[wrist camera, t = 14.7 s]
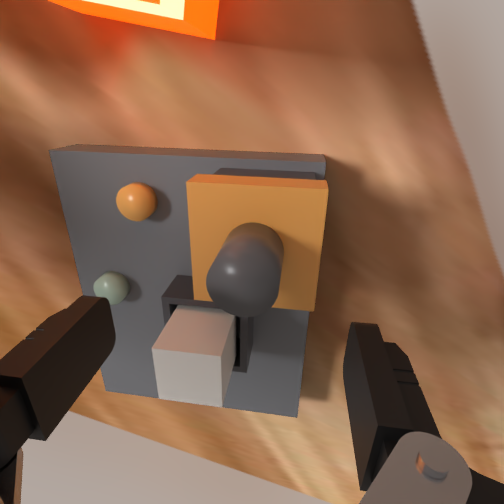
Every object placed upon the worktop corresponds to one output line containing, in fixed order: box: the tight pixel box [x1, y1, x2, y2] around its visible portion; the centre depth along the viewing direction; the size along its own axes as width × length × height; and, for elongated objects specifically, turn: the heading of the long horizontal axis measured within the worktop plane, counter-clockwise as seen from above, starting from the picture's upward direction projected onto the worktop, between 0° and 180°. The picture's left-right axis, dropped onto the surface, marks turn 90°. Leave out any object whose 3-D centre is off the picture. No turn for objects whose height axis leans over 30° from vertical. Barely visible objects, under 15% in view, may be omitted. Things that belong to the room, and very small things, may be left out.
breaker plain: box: [152, 305, 236, 407], centre depth 21 cm, size 4×4×4 cm
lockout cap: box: [186, 174, 329, 317], centre depth 16 cm, size 7×7×5 cm
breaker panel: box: [49, 144, 326, 418], centre depth 25 cm, size 18×22×6 cm
